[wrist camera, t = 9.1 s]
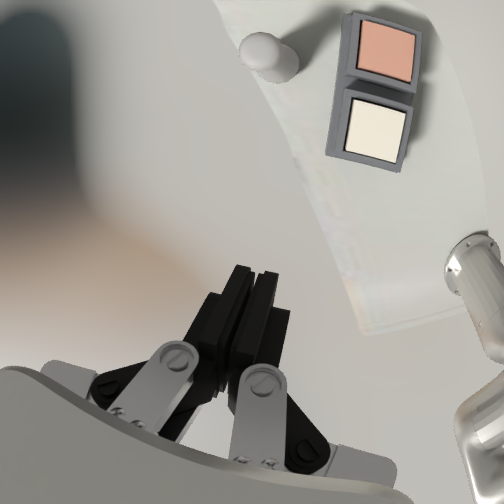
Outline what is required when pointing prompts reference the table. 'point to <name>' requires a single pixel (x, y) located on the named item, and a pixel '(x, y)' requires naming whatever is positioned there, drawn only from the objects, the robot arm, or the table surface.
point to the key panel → (369, 92)
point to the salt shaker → (269, 57)
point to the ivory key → (374, 130)
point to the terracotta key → (385, 51)
